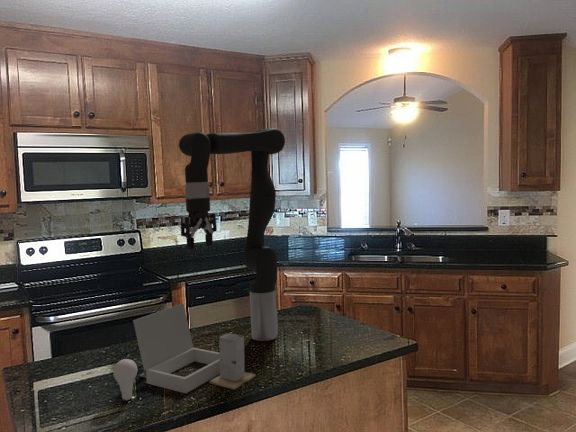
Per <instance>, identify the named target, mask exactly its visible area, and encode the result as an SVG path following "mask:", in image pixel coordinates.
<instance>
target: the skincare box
mask: <svg viewBox="0 0 576 432" xmlns="http://www.w3.org/2000/svg"><path fill="white" fill-rule="evenodd" d="M219 353H220V374H219V375H220V377H221V378H224V379H228V380H232V381H238V380H239V379H241V378H243V377H244V376H245V372H246V371H245V336H244V335H241V334H236V333H230V332H227V333H225V334H223V335H221V336H219Z"/></svg>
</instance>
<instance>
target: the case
mask: <svg viewBox="0 0 576 432" xmlns="http://www.w3.org/2000/svg"><path fill="white" fill-rule="evenodd" d="M194 362H195V363H201V364H206V365H205V366H203V367H201V368H200V369H197V370H196V371H194V372H192V373H190V374H188V375H186V376H181V375H177V374H172V373H174V372H177V371H178V370H180V369H182V368H184V367H186V366H188V365H190V364H192V363H194ZM219 375H220V351H219V352H218V351H212V350H207V349H202V348H198V347H193V348H192V349H189V350H187V351H185V352H183V353H181V354H179V355H177V356H174V357H172V358H170V359H168V360H166V361H164V362H161V363H159V364H157V365H155V366H153V367H151V368H149V369H146V378H145V379H146V384H149V385H152V386H156V387H160V388H163V389H168V390H171V391H175V392H178V393H183V394H188V393H189V392H191V391H193V390H194V389H196V388H198V387H200V386H202V385H203V384H205V383H207V382H209V381H211V380H212V379H214V378H216V377H218V376H219Z"/></svg>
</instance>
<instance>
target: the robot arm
mask: <svg viewBox="0 0 576 432" xmlns="http://www.w3.org/2000/svg"><path fill="white" fill-rule="evenodd" d="M284 135H285V134H284V133H283V132H282V131H281V130H280V129H278V128H276V127H274V128H273V127H271V128H270V127H269V128H268V127H267V128H262V129H257V130H255V131H254V132H212V133H207V134H206V133H204V132H200V131H199V132H198V131H197V132H193V133H192V132H191V133H186V134H184V135H183V136H182V137H180V140H179V142H178V149H179V150H180V152H181V153H182V154H184V155H185V156H188V157H190V162H189V163H188V164H186V165H185V168H184V178H185V179H184V181H185V187H184V190H185V191H184V192H185V212H186V213H188V216H181V218H180V237H185V238H186V247H187V250H191V251H193V250H195V249H196V247H195V237H194V236H195V233H197V232H198V230H203V232H204V234H205V236H204V237H205V245H206V246H207V247H211V246H213V242H214V241H213V234H214V232H217V226H218V225H217V217H216V213H214V212H213V213H211V212H210V211H211V200H210V199H211V198H210V185H209V174H208V167H209V163H210V158H211V155H227V154H228V155H229V154H238V153H245V152H246V153H247V152H250V157H251V161H250V162H251V173H250V174H251V175H250V178H251V179H250V194H249V207H248V208H249V212H248V224H247V225H248V226H247V234H246V239H245V246H244V253H243V261H244V265H245V266H246V268H247V269H248V270H250V271H254V272H256V274H255V280H253V281H251V282H250V283H249V288H248V289H249V302H250V303H249V306H250V307H249V308H250V325H251V326H250V329H251V339H252V340H254V341H257V342H258V341H259V342H268V341H271V340H275V339H277V338H278V335H279V329H278V328H279V323H278V322H279V321H278V320H279V318H278V309H277V301H276V298H277V296H276V285H277V281H278V257H277V254H276V251H275V250H274V249H273V248H272V247H270V246H265V245H264V242H265V233H266V230H267V227H268V225H269V223H270V221H271V219H272V218H273V215H274V213H275V210H276V197H277V196H276V195H277V193H276V192H277V191H276V187H275V184H274V181H273V180H272V177H271V174H270V172H269V171H270V170H269V155H276V154H278V153H280V152H281V151H282V150H283V149H284V147H285V145H286V144H285V143H286V138H285V136H284Z"/></svg>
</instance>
